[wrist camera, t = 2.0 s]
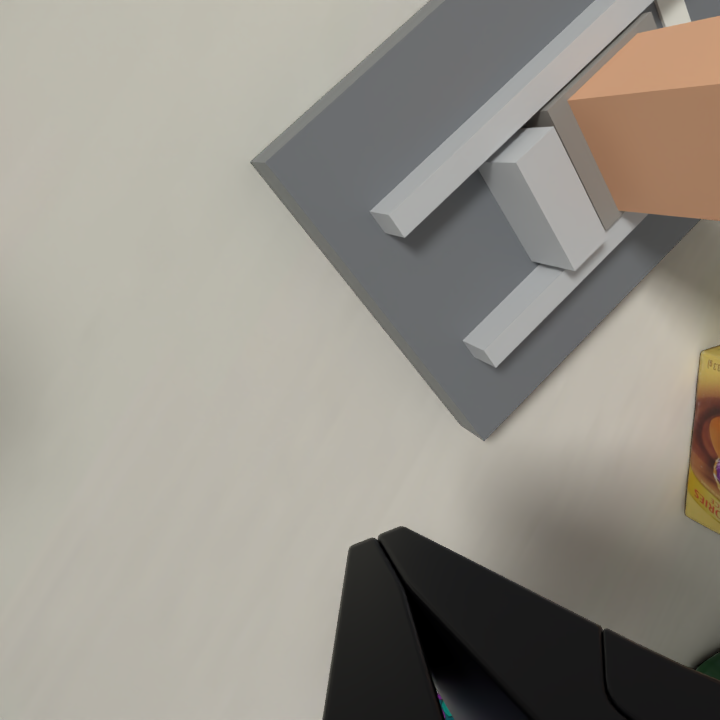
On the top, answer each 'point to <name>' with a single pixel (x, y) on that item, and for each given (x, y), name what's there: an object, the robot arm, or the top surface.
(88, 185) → the top surface
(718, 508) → the candy box
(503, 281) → the board
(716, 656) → the coffee jar
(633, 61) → the fader tab
